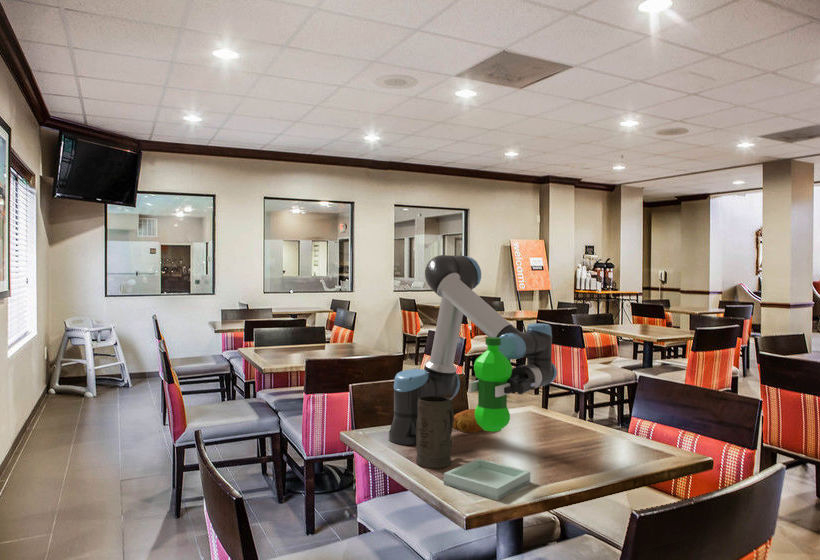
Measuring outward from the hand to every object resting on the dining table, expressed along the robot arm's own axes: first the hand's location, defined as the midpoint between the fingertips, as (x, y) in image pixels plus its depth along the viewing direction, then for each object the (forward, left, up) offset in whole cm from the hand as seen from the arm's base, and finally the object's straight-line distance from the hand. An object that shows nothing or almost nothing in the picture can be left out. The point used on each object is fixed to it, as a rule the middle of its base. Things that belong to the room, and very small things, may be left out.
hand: (483, 389), depth 154 cm
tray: (-1, +4, -26) cm, 27 cm away
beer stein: (-23, +10, -27) cm, 36 cm away
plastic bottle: (0, +5, -12) cm, 13 cm away
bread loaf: (-37, +48, -27) cm, 66 cm away
